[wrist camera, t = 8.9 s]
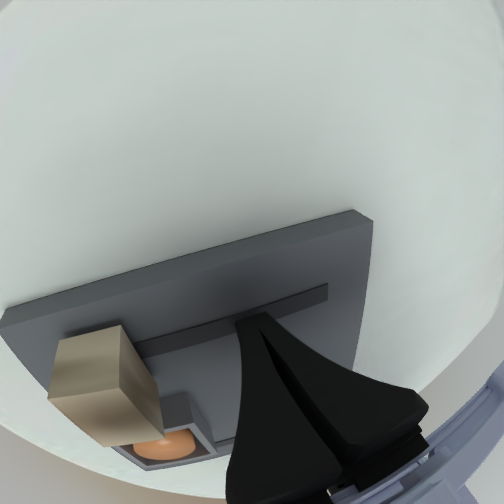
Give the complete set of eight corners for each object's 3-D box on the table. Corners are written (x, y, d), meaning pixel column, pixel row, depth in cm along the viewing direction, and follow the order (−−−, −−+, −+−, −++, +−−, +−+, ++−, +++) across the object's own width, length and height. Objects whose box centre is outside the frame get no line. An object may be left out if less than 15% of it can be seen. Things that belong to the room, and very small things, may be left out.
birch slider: (157, 384, 12) (165, 438, 9) (103, 394, 11) (104, 447, 9) (120, 324, 10) (119, 387, 7) (59, 340, 9) (47, 398, 6)
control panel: (333, 399, 22) (352, 427, 19) (143, 457, 19) (149, 490, 16) (354, 209, 13) (403, 239, 10) (5, 309, 9) (-17, 359, 6)
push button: (197, 432, 15) (202, 452, 14) (146, 442, 14) (149, 463, 13) (178, 407, 13) (183, 431, 12) (120, 419, 12) (122, 442, 11)
